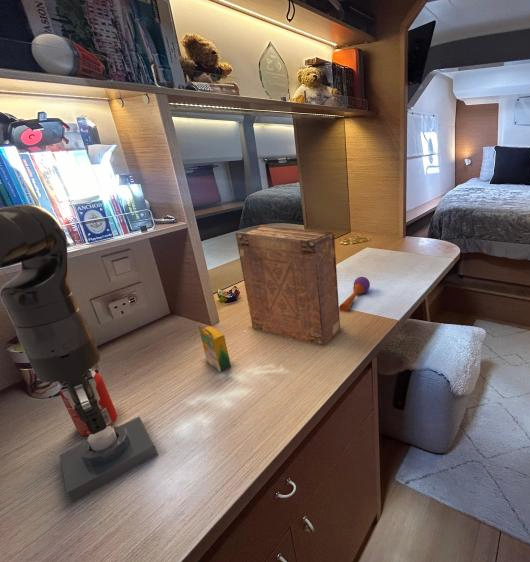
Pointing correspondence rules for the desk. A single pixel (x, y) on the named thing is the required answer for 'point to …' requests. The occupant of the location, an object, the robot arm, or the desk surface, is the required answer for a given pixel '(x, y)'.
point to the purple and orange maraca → (356, 292)
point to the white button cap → (102, 439)
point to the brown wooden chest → (291, 282)
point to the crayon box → (215, 348)
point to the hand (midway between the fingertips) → (98, 429)
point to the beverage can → (104, 403)
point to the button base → (106, 459)
